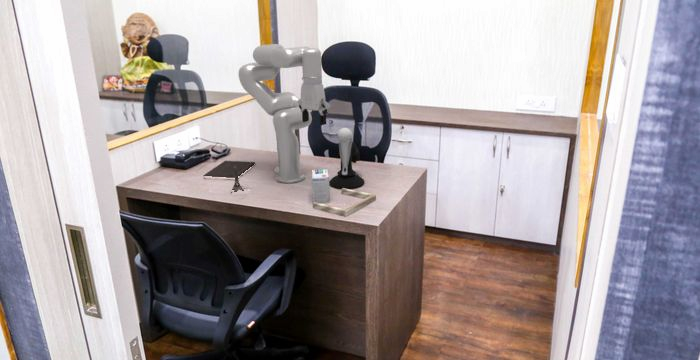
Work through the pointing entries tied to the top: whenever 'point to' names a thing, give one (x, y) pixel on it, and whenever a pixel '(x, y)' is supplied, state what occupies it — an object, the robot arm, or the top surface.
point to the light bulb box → (320, 186)
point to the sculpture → (347, 163)
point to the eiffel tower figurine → (236, 187)
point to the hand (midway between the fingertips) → (314, 123)
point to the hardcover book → (230, 169)
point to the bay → (345, 212)
